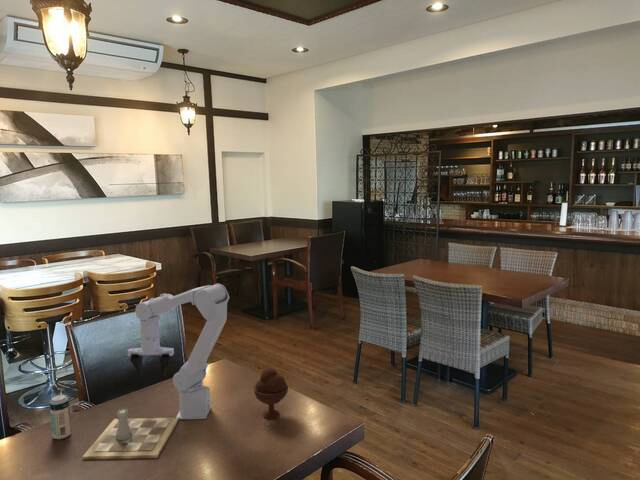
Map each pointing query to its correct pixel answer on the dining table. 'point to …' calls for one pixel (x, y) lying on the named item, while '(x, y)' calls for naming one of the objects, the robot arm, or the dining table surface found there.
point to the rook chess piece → (123, 425)
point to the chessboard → (133, 439)
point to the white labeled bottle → (60, 416)
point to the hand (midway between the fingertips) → (152, 375)
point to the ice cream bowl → (270, 391)
